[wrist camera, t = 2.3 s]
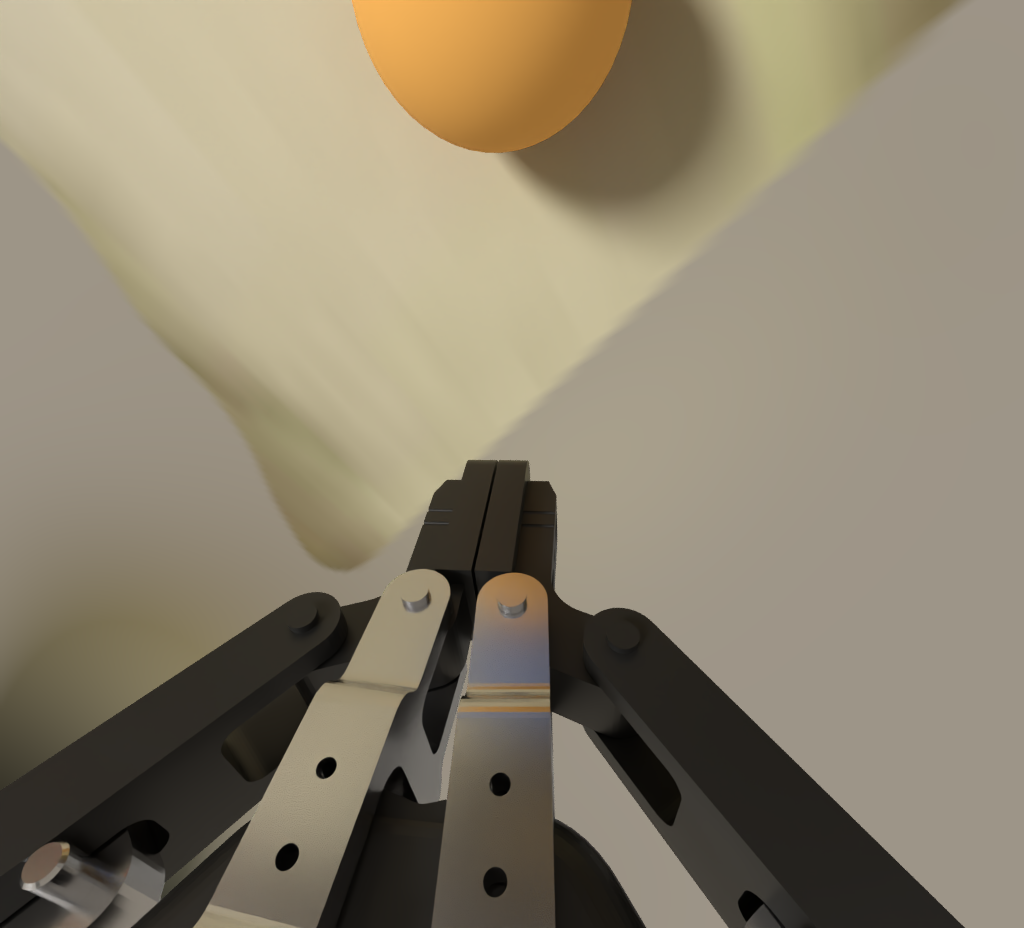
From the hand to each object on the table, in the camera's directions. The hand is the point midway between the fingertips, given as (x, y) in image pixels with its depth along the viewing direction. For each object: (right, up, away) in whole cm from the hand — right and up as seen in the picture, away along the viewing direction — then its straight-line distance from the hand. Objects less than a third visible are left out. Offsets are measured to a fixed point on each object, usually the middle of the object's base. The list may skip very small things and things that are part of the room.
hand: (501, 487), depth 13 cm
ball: (0, +11, -2) cm, 11 cm away
